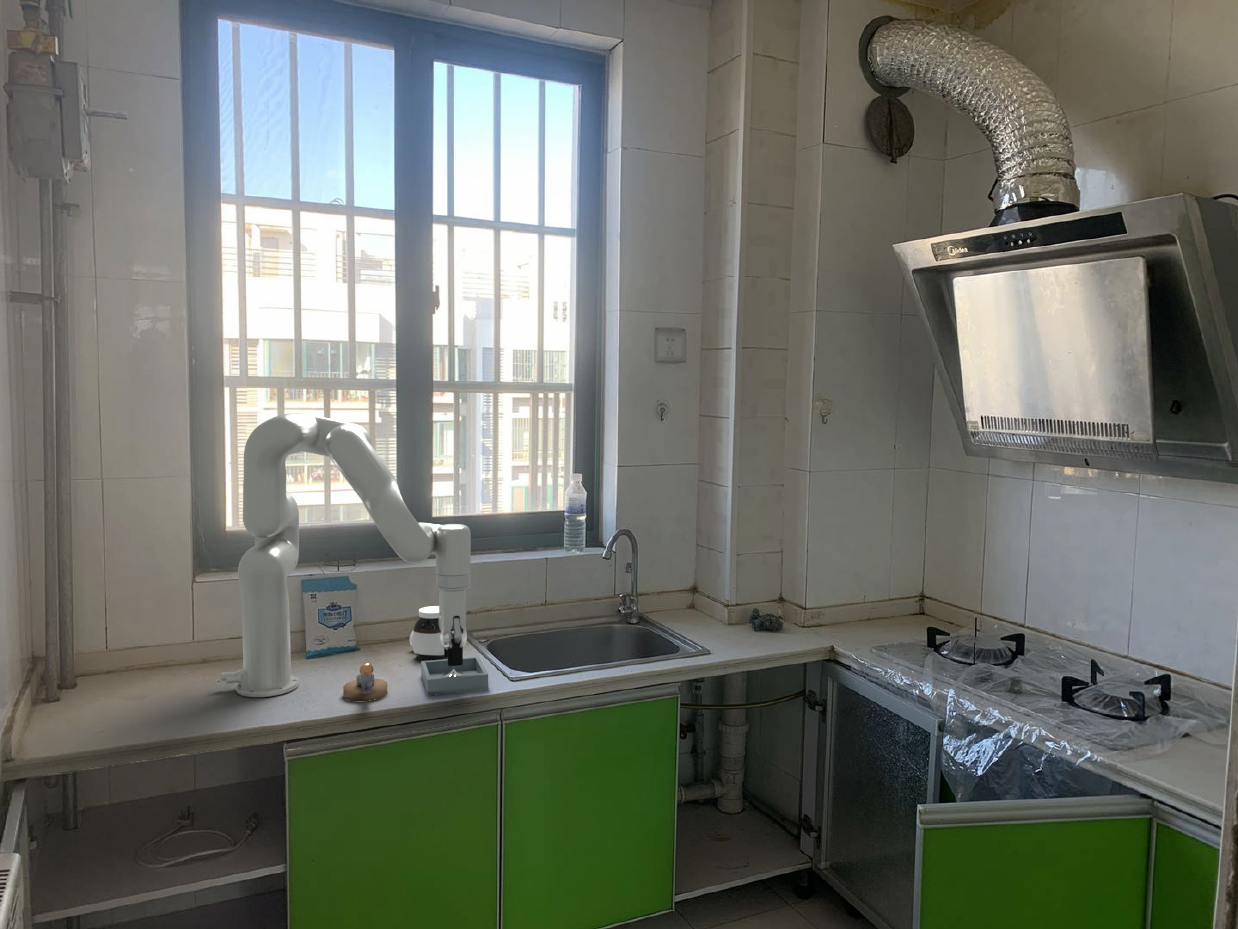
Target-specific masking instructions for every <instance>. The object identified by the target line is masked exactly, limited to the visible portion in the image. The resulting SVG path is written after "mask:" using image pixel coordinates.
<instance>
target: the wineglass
mask: <svg viewBox="0 0 1238 929" xmlns="http://www.w3.org/2000/svg"><path fill="white" fill-rule="evenodd" d="M451 634H454V631H451ZM448 635H449V634H446V636H444V635H443V634H442V632H441V634H440V641H441V645H442V647H443V648H444V649H446V650H448V648H449V636H448ZM453 638H454V636H453V637H452V639H453ZM467 638H468V637H467V628H466V629H465V633H464V634H462V647H463V648H464V647H465V646H466V644H467ZM461 675H464V674H463V673H461V672H456V671H455V666H452V671H451V672H448V673H445V674H444V675H443V677H450V676H461Z"/></svg>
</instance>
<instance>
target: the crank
mask: <svg viewBox="0 0 1238 929" xmlns="http://www.w3.org/2000/svg"><path fill="white" fill-rule="evenodd" d="M361 664H362V663H361ZM373 673H374V666H373V664H371V663H369V662H365V663H363V664H362V665H360V667H359V674H358V675H356V680H357V686H358V687H361V690H362V694H368V693H371V689H372V686H373V685H374V679H375V675H374V674H373Z"/></svg>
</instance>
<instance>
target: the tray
mask: <svg viewBox="0 0 1238 929" xmlns="http://www.w3.org/2000/svg"><path fill="white" fill-rule="evenodd" d="M420 665H421V666H420V668H421V669H420V672H421V675H420V676H421V680H422V683H423V687H424V689H425V692H426V695H431V696H436V695H435V694H441V695H446V694H445V693H451V694H461V693H468V692H469V693H470V692H481V691H480V690H482V691H488V690H489V673H488V671H487V669H486V668H485V665H484V664H483V662H482V660H481V659H480V656H469V657H463V664H462V665H458V666H455V671H456V672H461V673H463V674H464V675H461V676H450V677H443V675H444V674H445V673H448V672H451V671H452V666H448V658H444V659H440V660H423V661H422V660H421V661H420Z"/></svg>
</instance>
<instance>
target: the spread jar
mask: <svg viewBox="0 0 1238 929" xmlns="http://www.w3.org/2000/svg"><path fill="white" fill-rule="evenodd" d="M418 616H419V617H418V618H417V619H416V621H415V624H414V626H413V630H412V631H411V633H410V636H409V644H410V646H412V648H413V649H412V650H413V653H414V655H415V656H416V657H417V658H418V659H421V660H423V661H432V660H444V659H446V658H445V657H444V648H443V647H442V645H441V641H440V634H441V630H440V628H439V624H438V621H439V605H433V606H431V605H430V606H425V607H421V608H419V609H418Z"/></svg>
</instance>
